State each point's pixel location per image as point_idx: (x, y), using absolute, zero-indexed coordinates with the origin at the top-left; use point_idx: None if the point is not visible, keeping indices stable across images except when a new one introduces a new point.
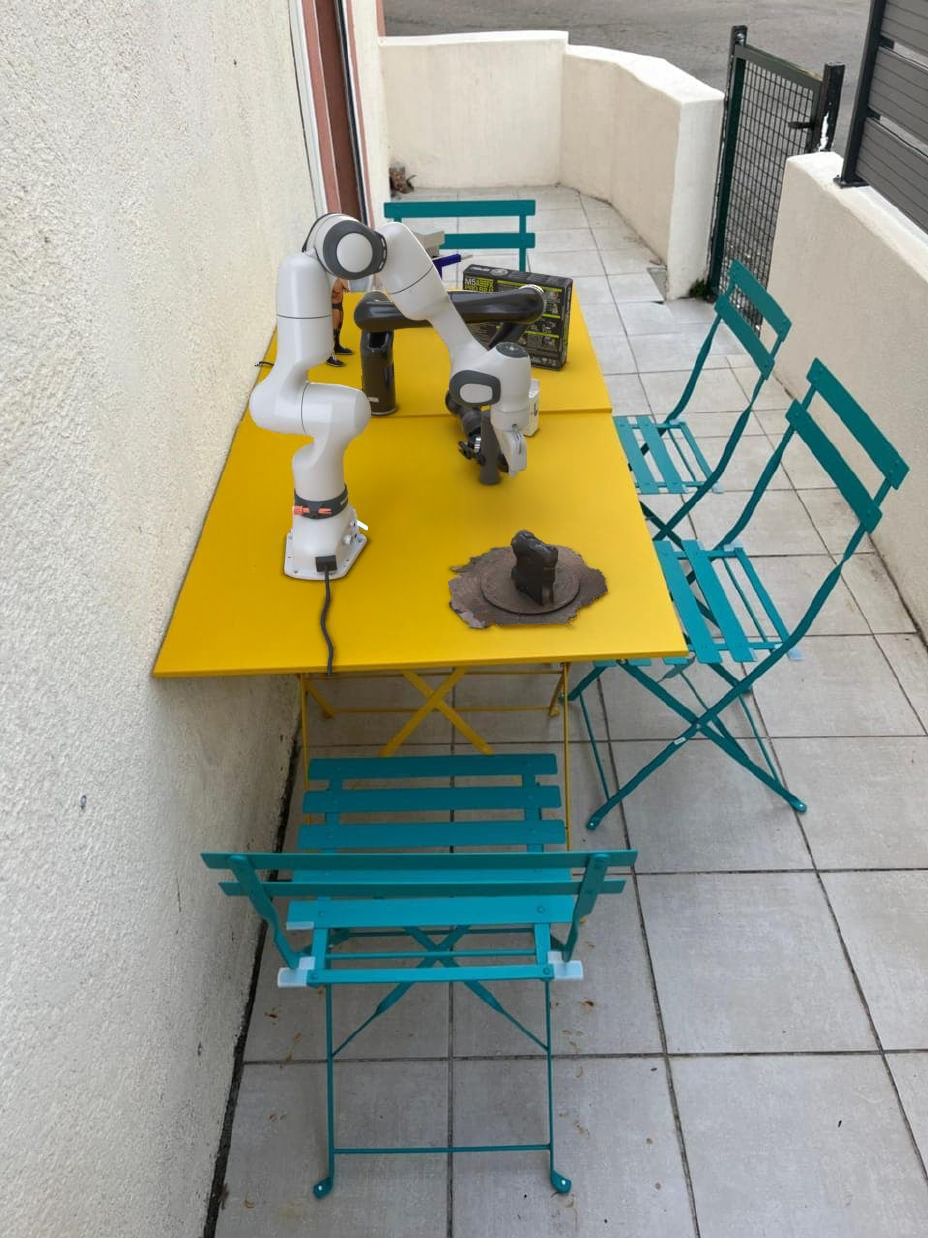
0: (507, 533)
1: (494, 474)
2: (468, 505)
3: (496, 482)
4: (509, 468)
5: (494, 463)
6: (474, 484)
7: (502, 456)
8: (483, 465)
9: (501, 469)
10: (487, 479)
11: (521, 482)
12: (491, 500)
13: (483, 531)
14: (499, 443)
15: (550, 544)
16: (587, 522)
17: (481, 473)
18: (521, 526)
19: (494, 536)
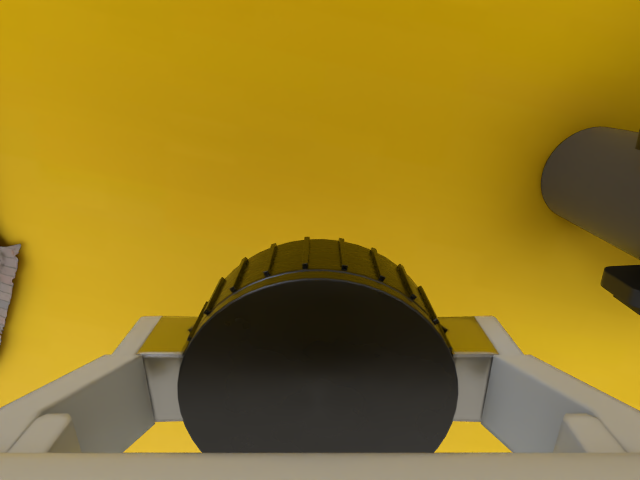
0: (111, 160)
1: (573, 203)
2: (393, 5)
3: (546, 200)
4: (59, 381)
5: (625, 225)
6: (582, 86)
7: (400, 350)
8: (637, 149)
9: (237, 273)
10: (569, 159)
11: (509, 303)
12: (408, 144)
13: (131, 39)
14: (546, 462)
15: (3, 317)
16: (179, 452)
17: (624, 134)
18: (167, 233)
19: (84, 90)
